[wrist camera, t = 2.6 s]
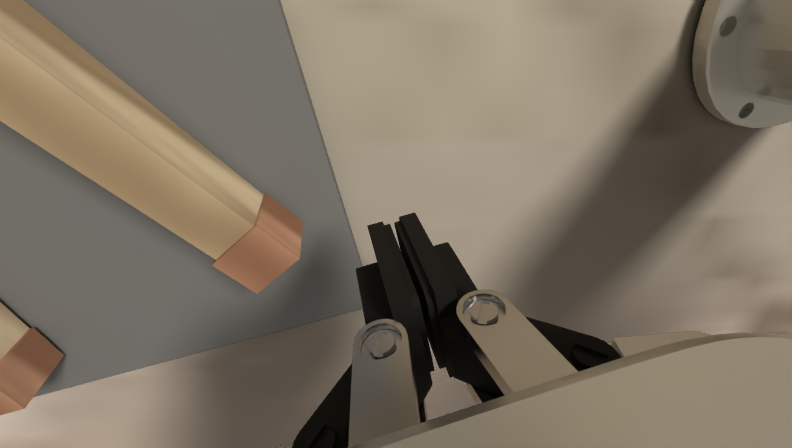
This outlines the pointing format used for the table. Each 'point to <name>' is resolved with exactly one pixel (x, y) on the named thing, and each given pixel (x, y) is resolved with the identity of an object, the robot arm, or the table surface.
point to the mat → (144, 237)
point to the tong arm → (137, 150)
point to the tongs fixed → (22, 361)
